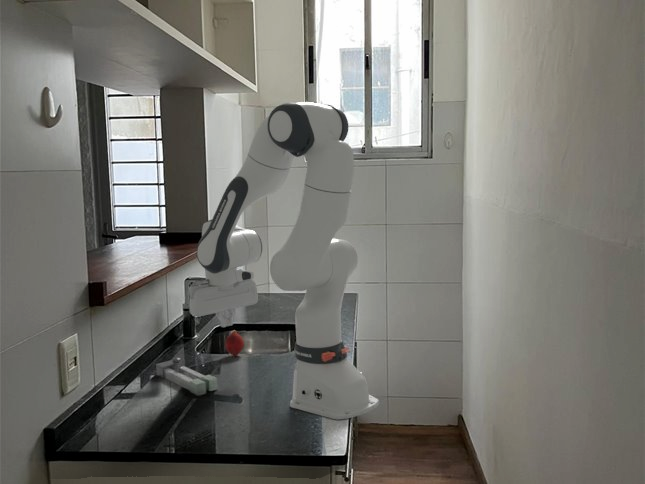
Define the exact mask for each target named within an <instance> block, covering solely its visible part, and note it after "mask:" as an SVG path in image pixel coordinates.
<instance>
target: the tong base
mask: <svg viewBox="0 0 645 484" xmlns="http://www.w3.org/2000/svg"><path fill="white" fill-rule="evenodd" d="M155 366H156V367H155V369H156V376H158V377H160V378H162V379H165V380H168V381H170V382H172V383H174V384H175V385H177V386H180V387H182V388H184V389H186V390H187V391H190V393H192V394H193V395H195V396H197V397H198V396H202V395H205V394H207V390H206V384H205V382H204V381H202V380H200V379H194V380H193V379H191V378H189V377H187V376H185V375H183V374H180V373H179V367H182V366H184V365H183V361H182V360H181V362H178V363H173V362H172V359H171V360H167V361H163V362H159V363H155Z"/></svg>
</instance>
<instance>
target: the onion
mask: <svg viewBox="0 0 645 484" xmlns="http://www.w3.org/2000/svg"><path fill="white" fill-rule="evenodd" d="M224 343H225V344H224V346H225V350H226V351H227V352H228V354H231V355H232V356H234V357H237V356H238V355H239V354H240V353H241V352H242V351H243V350H244V347H245V341H244V338H243V337H242V336H241V335H240V334H239V333H237V330H235V329H234V330H232V332H231V333H230V334H229V335H228V336H227V337H226V339H225V342H224Z"/></svg>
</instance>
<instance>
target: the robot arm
mask: <svg viewBox="0 0 645 484" xmlns="http://www.w3.org/2000/svg"><path fill="white" fill-rule="evenodd" d="M348 134H349V120H348V118H347V116H346V114H345V113H344V112H343V111H342V110H341V109H339V108H338V107H336V106H334V105H330V104H322V103H321V104H320V103H314V102H309V101H306V102H305V101H304V102H303V101H301V102H294V101H293V102H292V101H291V102H286V103H282V104H279V105H278V106H276V107H275V108H273V109H272V110H271V112H270V114H269V115H268V116H266V117H265V118H264V119H263V120H262V121H261V123H260V124H259V127H258V128H257V130H256V132H255V134H254V136H253V139H252V141H251V144H250V147H249V149H248V153H247V155H246V157H245V160H244V162H243V165H242V166H241V168H240V170H239V171H238V173H237V174H236V175H235V177H233V179H232V180H231V181H230V182H229V183H228V184H227V187H226V188H225V190H224V192H223V194H222V196H221V198H220V202H219V203H218V205H217V208H216V210H215V212H214V214H213V217H212V219H209V220H207V221H205V222H204V223H203V225H202V229H201V230H202V231H201V238H200V239H199V241H198V244H197V247H196V257H197V260H198V262H199V265H200V266H201V267H202V268H203V269H204V273H205V274H204V276H205V279H204V280H199V281H194V282H192V284H190V286H189V287H188V296H189V302H188V303H189V304H188V306H189V314H190V315H192V316H193V317H196V318H197V317H198V318H199V317H203V316H207V315H209V316H210V315H212V314H215V316H216V318H217V319H218V321H219V323H220V327H221V328H226V327H231V326H233V325H234V321H233V319H234V317H235V314H236V309H238V308H239V309H240V308H244V307H248V306H252V305H256V304H257V302H258V301H259V296H258V294H259V293H258V286H257V283H256V281H255V280H253V279H254V278H255V275H254V272H253V271H251V270H246V269H242V268H241V267H243V266H248V265H251V264H252V265H253V264H255V263H256V262H258V261H259V260H260V258H261V257H262V253H263V241H262V239H261V237H260V235H259V234H258V233H257V232H256V231H255V230H253V229H248V228H244V227H242V226H239V225H237V224H238V222H239V219H240V218H241V216H242V214H243V212H245V210H246V209H247V208H248V207H250V206H251V205H253V204H254V203H256V202H258V201H259V200H261V199H263V198H266V197H268V196H271V195H273V194H275V193H276V192H278V191H279V190H280V189H281V188H282V186H284V184H285V182H286V180H287V178H288V176H289V173H290V170H291V167H292V164H293V161H294V157H296V158H299V157H300V158H301V157H303V156H304V158H305V161H306V173H305V179H304V185H303V191H302V192H303V193H302V197H301V202H300V208H299V212H298V216H297V218H296V221H295V224H294V226H293V228H292V230H291V232H290V234H289V236H288V237H287V239H286V241H285V242H284V244H283V245H282V246H281V247H280V248H279V250H277V251H276V253H275V254H274V255H273V256H272V257H271V259H270V260H271V261H270V263H269V264H270V265H269V273H270V277H271V279H272V281H273V283H274V284H275V286H277V287H278V288H279V289H280V290H282V291H283V292H285V291H286V292H303V291H305V294H304V297H303V299H302V301H301V303H300V304H299V305H298V306H297V307H296V310H295V314H294V317H295V318H294V320H295V321H294V322H295V336H296V337H295V339H296V341H295V343H294V357H295V358H296V364H295V367H294V371H293V383H292V384H293V385H292V399H291V400H290V402H289V403H290V404H289V407H290V408H292V409H297V410H301V411H304V412H306V413H307V412H308V413H311V414H314V415H318V416H322V417H326V418H328V419H332V420H345V419H346V420H347V419H351V418H354V417H355V418H356V417H359V416H361V415H364V414H367V413H368V412H371V411H373V410H374V409H376V408H377V407H378V406H379V405H380V400H379V399H378V398H377V397H375V396H373V395H371V394H369V393H370V392H369V387H368V382H367V379H366V377H365V376H364V374H363V372H361V371H359V370H358V368H356V366H355V365H354V364H353V363H352V361H351V360H350V359H349V357H348V353H350V347H349V346H347V347H346V346H345V343H344V342H343V341H344V340H343V339H342V320H341V319H342V317H341V314H342V304H343V299H344V294H345V291H346V288H347V285H348V283H349V280H350V278H351V276H352V274H354V272H355V271H356V268H357V267H358V262H359V261H358V260H359V259H358V258H359V257H358V253H357V251H356V248H355V247H354V246H353V244H352V243H351V242H350V241H348V240H346V239H340V238H334V237H335V236H336V235H337V233H338V232H339V231H340V230H341V229H342V228H343V227H344V226H345V223H346V221H347V217H348V211H349V206H350V200H351V194H352V188H353V183H354V181H353V179H354V170H355V169H354V167H355V166H354V163H355V159H354V158H355V157H354V151H353V149H352V147H351V146H350V145H349V144H348V143H347V142H346V141H345V140H346V138H347V136H348ZM277 287H276V288H277ZM225 312H227V313H228V315H227V317H226V319H225V318H224V315H225Z"/></svg>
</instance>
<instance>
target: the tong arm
mask: <svg viewBox="0 0 645 484" xmlns="http://www.w3.org/2000/svg"><path fill="white" fill-rule="evenodd" d="M171 360H172V362H173V363H178V362H181V361H182V358H181V357H179V356H178V357H173V358H172V359H171ZM179 373H180V374H183V375H185V376H187V377H189V378H191V379H193V380H194V379H200V380H202V381H204V382H205V384H206V391H208V392H213V391H216V390H218V388H219V387H218V378H217V377H216V376H213V375H211V374H207V375H205V374H202V373H200V372H198V371H196V370H193V369H191V368H190V367H187V366H184V365H183V366H182V367H179Z"/></svg>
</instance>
